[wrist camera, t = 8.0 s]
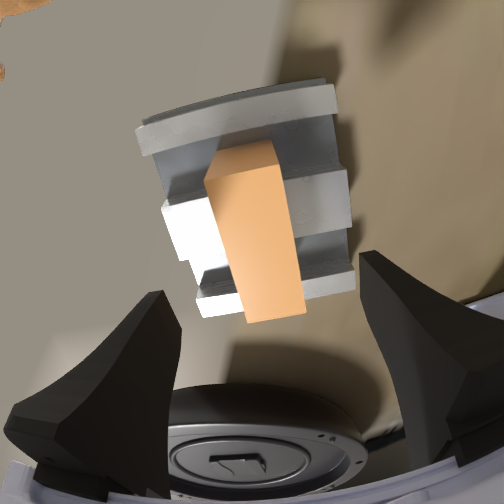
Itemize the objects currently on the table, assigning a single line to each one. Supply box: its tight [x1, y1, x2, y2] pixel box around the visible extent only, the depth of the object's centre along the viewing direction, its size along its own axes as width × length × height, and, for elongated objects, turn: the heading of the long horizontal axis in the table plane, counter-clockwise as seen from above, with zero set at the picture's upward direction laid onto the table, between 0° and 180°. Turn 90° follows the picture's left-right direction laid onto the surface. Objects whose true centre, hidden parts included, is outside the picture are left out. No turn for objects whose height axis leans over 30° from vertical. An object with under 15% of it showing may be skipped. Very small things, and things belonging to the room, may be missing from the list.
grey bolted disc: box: [168, 384, 368, 502], centre depth 33 cm, size 30×6×30 cm
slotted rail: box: [135, 78, 356, 317], centre depth 18 cm, size 10×13×2 cm
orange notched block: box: [204, 139, 307, 323], centre depth 16 cm, size 3×8×5 cm, turn 13°
